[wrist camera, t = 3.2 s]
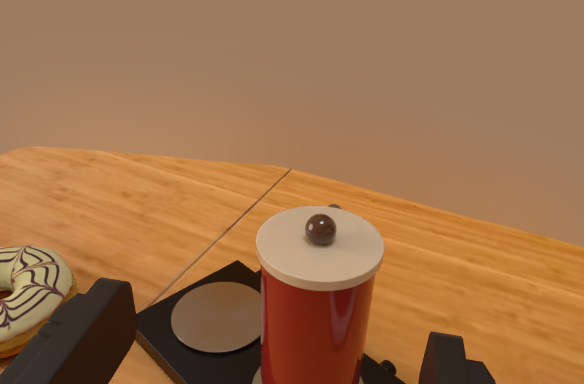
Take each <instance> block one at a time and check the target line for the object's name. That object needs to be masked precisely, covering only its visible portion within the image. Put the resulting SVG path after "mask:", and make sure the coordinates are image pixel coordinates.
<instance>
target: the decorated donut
mask: <svg viewBox="0 0 584 384" xmlns="http://www.w3.org/2000/svg"><path fill="white" fill-rule="evenodd" d="M76 293H77V286H76V283H75V279H74V275H73V273H72V272H71V269H70V268H69V266H68V265H67V263H65V261H64V260H63V259H62V257H61V256H60V255H59V254H58V253H56V252H54V251H53V250H51V249H49V248H43V247H35V246H14V247H5V248H0V359H1V358H6V357H9V356H12V355H16V354H18V353H20V351H21V350H22V349H23V348H24V347H25V346H26V344H27V343H28V342H29V341H30V340H31V339H32V338H33V336H34V335H37V332H38V331H39V329H40V328H41V327H42V326H43V325H44V324H45V323H47V322H48V319H49V318H50V317H51V315H52V314H53V313H54V312H55V311H56V310H57V308H58V307H59V306H60V305H61V304H63V303H64V302H66V301H68V300H69V299H71V298H72V297H74V296H75V295H76Z"/></svg>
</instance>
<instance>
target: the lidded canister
mask: <svg viewBox="0 0 584 384" xmlns="http://www.w3.org/2000/svg"><path fill="white" fill-rule="evenodd" d="M256 254H257V257H258V260H259V261H260V263H261V384H359V380H360V373H361V366H362V360H363V353H364V347H365V340H366V333H367V327H368V320H369V314H370V307H371V300H372V294H373V287H374V281H375V274H376V272H377V271H378V270H379V268H380V267H381V264H382V261H383V255H384V242H383V239H382V237H381V235H380V233H379V232H378V230H377V229H376V228H375V227H374V226H373V225H372V224H371V223H369V222H368V221H367V220H365V219H364V218H362V217H360V216H358V215H356V214H354V213H351V212H348V211H345V210H342V209H341V208H340V207H339V206H338V205H336V204H331V205H329V206H328V207H326V206H303V207H296V208H291V209H288V210H284V211H282V212H279V213H277V214H275V215H273V216H272V217H270V218H269V219H267V220H266V221H265V222H264V223H263V224H262V226H261V227H260V229H259V230H258V233H257V236H256Z"/></svg>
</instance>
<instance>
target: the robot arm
mask: <svg viewBox="0 0 584 384" xmlns="http://www.w3.org/2000/svg"><path fill="white" fill-rule="evenodd" d="M136 332H137V318H136V312H135V305H134V299H133V293H132V287H131V284H130V283H129V282H127V281H121V280H115V279H108V278H100V279H98V280H97V281H96V282H95V283H94V285H93V286H92V287H91V288H90V290H89V291H88V292H87V293H86V294H79V293H78V294H77V295H75V296H74V297H72V298H71V299H69V300H68V301H66V302H64V303H63V304H61V305H60V306H59V307H58V308H57V310H56V311H55V312H54V313H53V314H52V315H51V317H50V318H49V319H48V322H47V323H45V324H44V325H43V326H42V327H41V328H40V329H39V331H38V332H37V335H34V336H33V338H32V339H31V340H30V341H29V342H28V343H27V344H26V346H25V347H24V348H23V349H22V350H21V351H20V353H19V354H18V355H17V356H16V357H15V358H14V360H13V361H12V362H11V363H10V364H9V365H8V367H7V368H6V369H5V370H4V371H3V372H2V374H1V375H0V384H108V383H109V382H110V380H111V378H112V377H113V375H114V374H115V372H116V370H117V369H118V367H119V365H120V364H121V362H122V361H123V359H124V357H125V356H126V354H127V352H128V351H129V349H130V348H131V346H132V344H133V342H134V339H135V336H136ZM418 384H496V383H495V380H494V379H493V377H492V376H491V374H490V373H489V371H488V370H487V368H486V366H485V365H484V363H483V362H479V361H473V360H467V359H466V356H465V350H464V343H463V339H462V337H461V336H456V335H450V334H443V333H437V332H430V334H429V338H428V342H427V346H426V350H425V354H424V358H423V362H422V366H421V371H420V376H419V383H418Z"/></svg>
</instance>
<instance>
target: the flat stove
mask: <svg viewBox="0 0 584 384" xmlns="http://www.w3.org/2000/svg"><path fill="white" fill-rule="evenodd" d="M136 318H137V332H136V336H135V339H136V340H137V341H138V342H139V343H140V345H141V346H142V347H143V348H144V349H145V350H146V351H147V352H148V353H149V355H150V356H151V357H152V358H153V359H154V360H155V361H156V362H157V363H158V365H159V366H160V367H161V368H162V369H163V370H164V371H165V372H166V373H167V375H168V376H169V377H170V378H171V379H172V380H173V381H174V382H175V384H261V270H259V271H257V272H253V271H252V270H251V269H249V268H248V267H247V266H245V265H244V264H243V263H241V262H240V261H238V260H237V261H235V262H233V263H231V264H229V265H227V266H225V267H224V268H222V269H220V270H218V271H216V272H214V273H212V274H210V275H209V276H207V277H205V278H203V279H201V280H199V281H197V282H195V283H193V284H192V285H190V286H188V287H186V288H184V289H182V290H180V291H178V292H177V293H175V294H173V295H171V296H169V297H167V298H165V299H163V300H162V301H160V302H158V303H156V304H154V305H152V306H150V307H148V308H146V309H145V310H143V311H141V312H139V313H137V314H136ZM395 375H396V368H395V366H394V365H393V364H392V363H391V362H390V361H388V360H384V361H382V362H381V363H380V364H378V363H377V362H376V361H374V360H373V359H372V358H370V357H369V356H367V355H366V354H365V353H363V360H362V366H361V373H360V380H359V384H405V383H404V382H403V381H401V380H400V379H399V378H397V377H396V376H395Z"/></svg>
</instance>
